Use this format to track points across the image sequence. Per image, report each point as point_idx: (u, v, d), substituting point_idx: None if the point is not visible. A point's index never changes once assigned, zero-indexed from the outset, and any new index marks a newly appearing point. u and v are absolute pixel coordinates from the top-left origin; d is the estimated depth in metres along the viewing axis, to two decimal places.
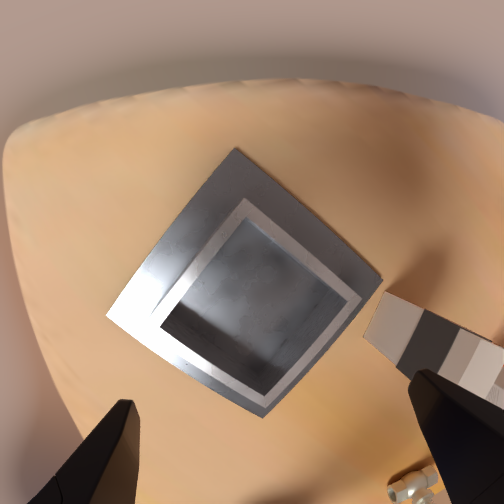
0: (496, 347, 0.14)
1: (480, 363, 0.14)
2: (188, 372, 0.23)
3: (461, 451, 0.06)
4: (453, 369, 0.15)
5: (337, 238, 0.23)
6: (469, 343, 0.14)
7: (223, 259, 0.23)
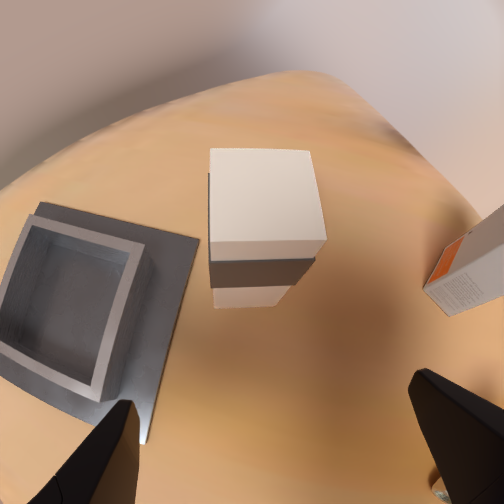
0: (262, 150, 0.13)
1: (241, 172, 0.13)
2: (49, 402, 0.17)
3: (461, 451, 0.06)
4: None
5: (131, 224, 0.24)
6: None
7: (45, 281, 0.21)
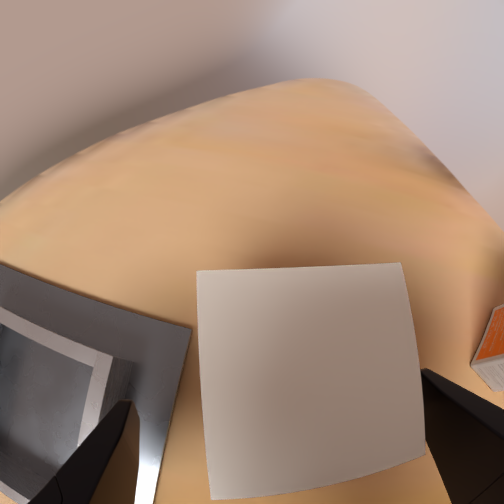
0: (312, 270, 0.06)
1: (269, 336, 0.06)
2: None
3: (461, 451, 0.06)
4: None
5: (100, 304, 0.16)
6: None
7: (3, 371, 0.14)
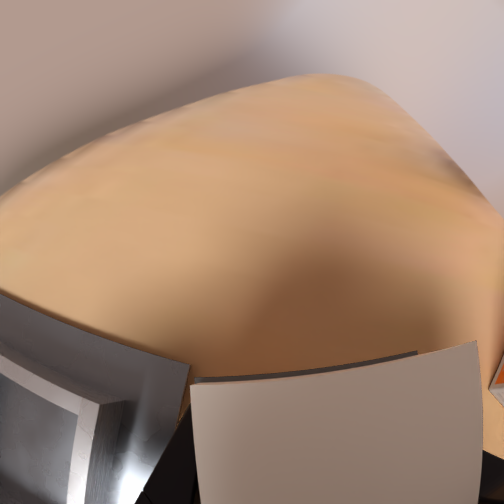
0: (369, 374, 0.04)
1: (305, 475, 0.03)
2: None
3: None
4: None
5: (86, 333, 0.14)
6: None
7: None
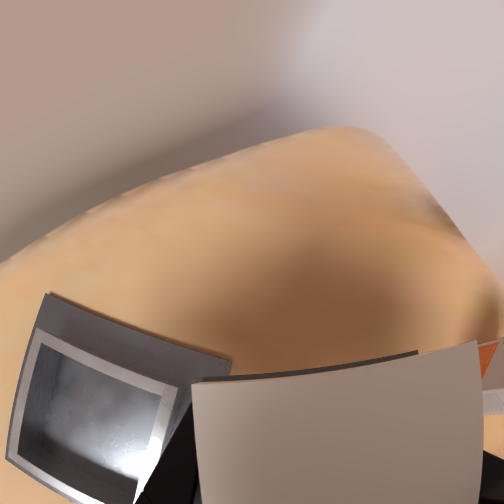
0: (370, 373, 0.04)
1: (306, 474, 0.03)
2: None
3: None
4: None
5: (155, 339, 0.21)
6: None
7: (63, 392, 0.18)
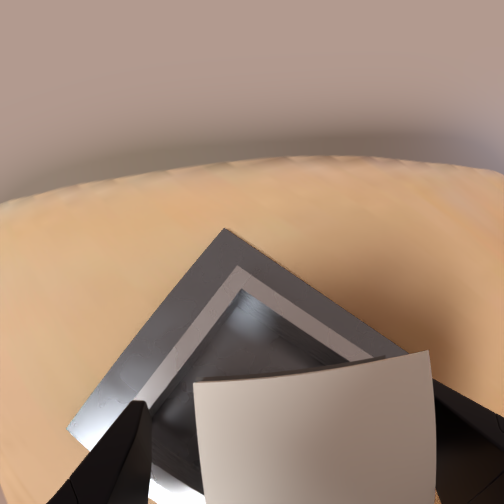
0: (329, 375, 0.05)
1: (279, 453, 0.04)
2: None
3: (452, 456, 0.06)
4: None
5: (362, 323, 0.18)
6: None
7: (217, 362, 0.16)
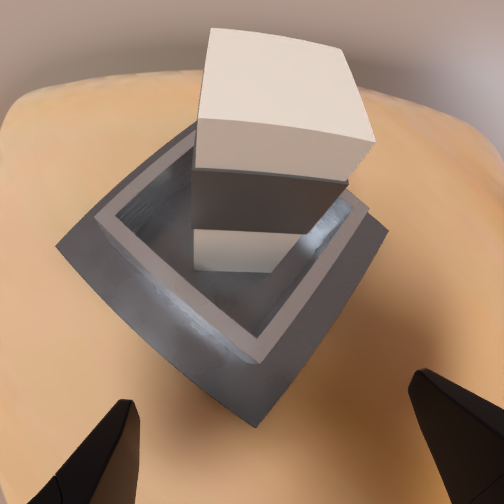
0: (280, 36, 0.08)
1: (252, 51, 0.08)
2: (143, 334, 0.16)
3: (461, 451, 0.06)
4: None
5: None
6: None
7: None
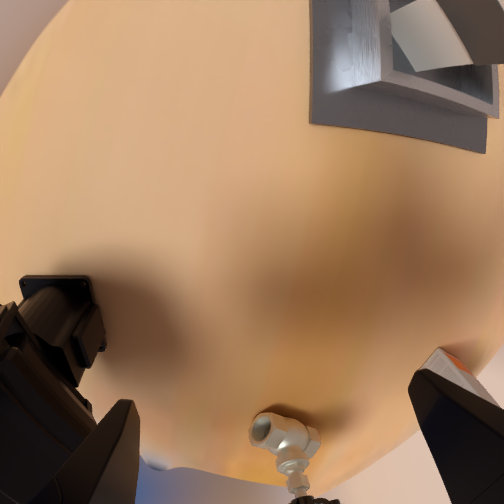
0: None
1: None
2: (315, 6, 0.14)
3: (461, 451, 0.06)
4: None
5: None
6: None
7: None
